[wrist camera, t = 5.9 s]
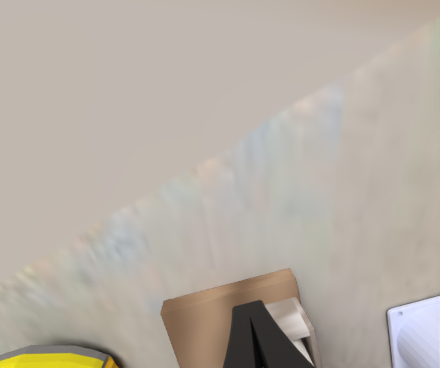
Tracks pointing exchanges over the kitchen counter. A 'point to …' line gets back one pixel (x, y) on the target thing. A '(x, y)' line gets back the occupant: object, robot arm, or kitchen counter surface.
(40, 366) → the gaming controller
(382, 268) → the kitchen counter surface
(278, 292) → the knob board
